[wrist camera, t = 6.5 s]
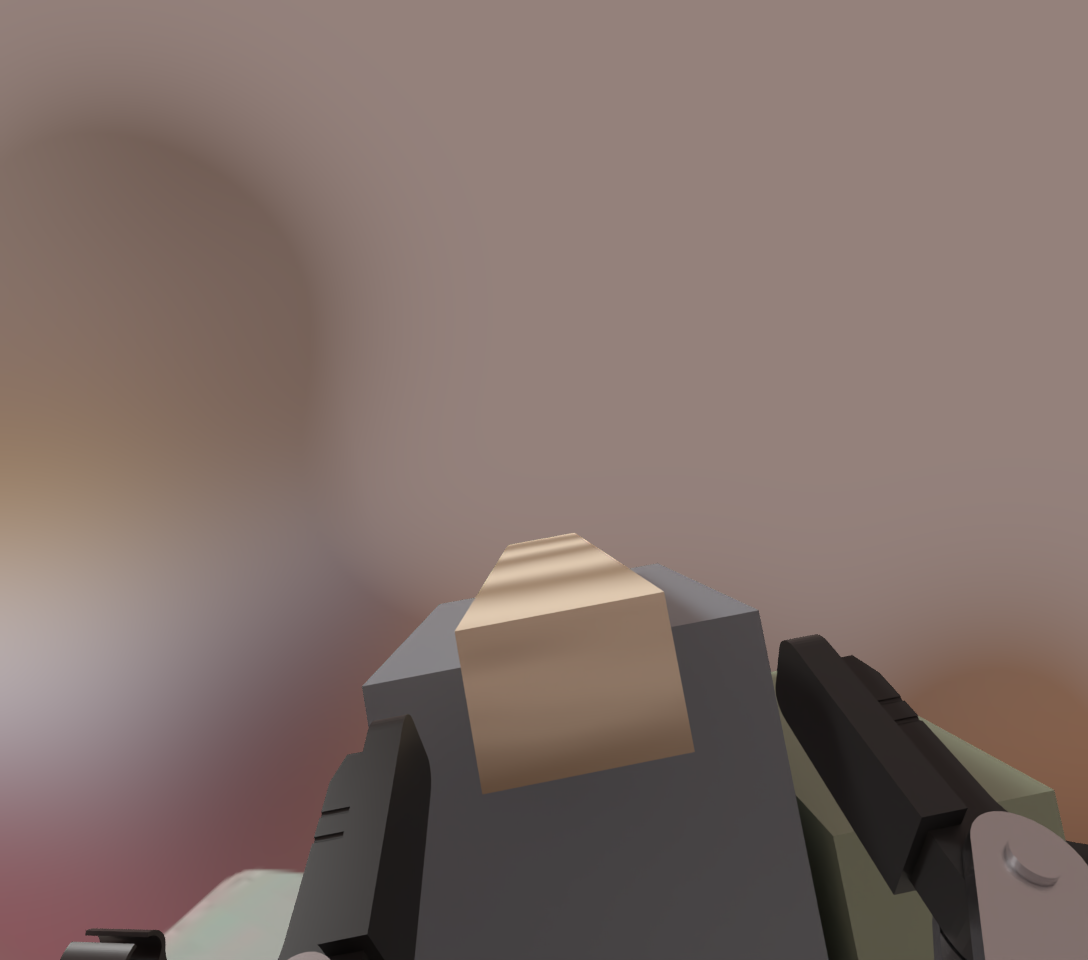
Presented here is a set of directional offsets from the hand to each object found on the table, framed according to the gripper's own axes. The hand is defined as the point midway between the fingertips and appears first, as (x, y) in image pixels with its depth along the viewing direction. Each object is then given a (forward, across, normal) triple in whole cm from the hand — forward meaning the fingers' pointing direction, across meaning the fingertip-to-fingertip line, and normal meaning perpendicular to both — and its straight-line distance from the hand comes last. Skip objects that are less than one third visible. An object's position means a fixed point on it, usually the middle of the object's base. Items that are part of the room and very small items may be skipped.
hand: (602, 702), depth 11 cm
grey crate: (+4, -1, -21) cm, 21 cm away
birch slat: (+7, -1, -5) cm, 9 cm away
